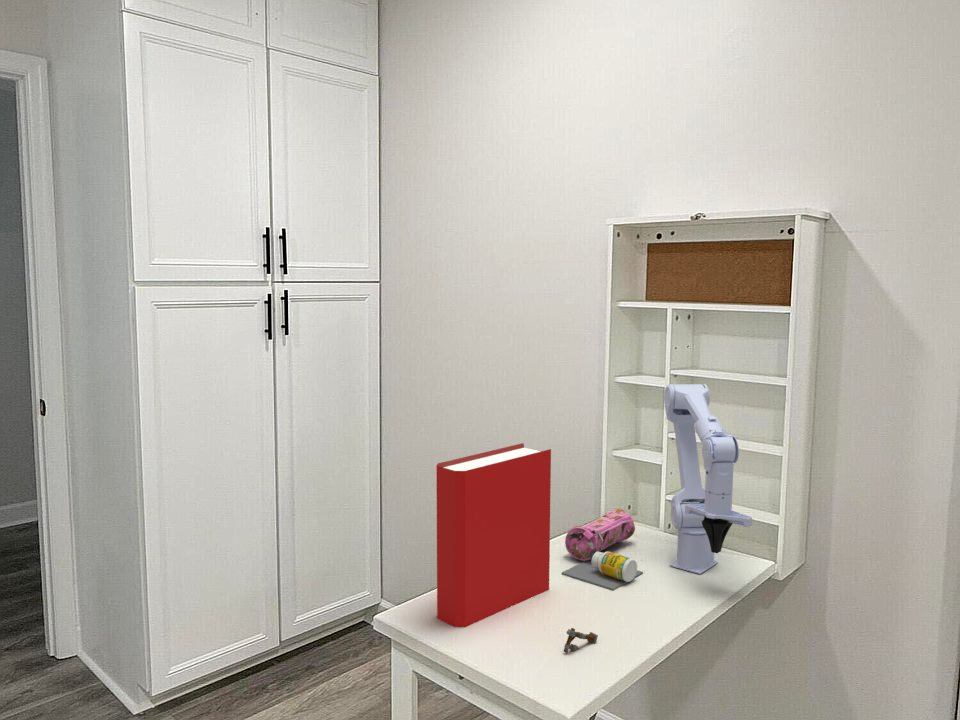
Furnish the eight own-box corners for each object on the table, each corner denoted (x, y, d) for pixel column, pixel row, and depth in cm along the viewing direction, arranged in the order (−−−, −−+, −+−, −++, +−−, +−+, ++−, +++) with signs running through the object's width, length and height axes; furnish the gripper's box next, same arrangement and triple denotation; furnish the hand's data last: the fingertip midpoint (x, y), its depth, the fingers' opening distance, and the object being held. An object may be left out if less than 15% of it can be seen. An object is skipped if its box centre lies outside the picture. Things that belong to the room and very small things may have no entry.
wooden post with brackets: (557, 649, 148) (565, 625, 148) (584, 654, 153) (591, 630, 153) (564, 653, 146) (572, 629, 147) (591, 657, 151) (598, 634, 152)
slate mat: (592, 558, 195) (592, 557, 195) (642, 573, 186) (642, 571, 186) (561, 574, 185) (561, 572, 185) (613, 590, 176) (613, 588, 176)
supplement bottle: (639, 571, 182) (605, 560, 189) (634, 554, 180) (599, 543, 187) (627, 587, 179) (592, 575, 186) (622, 570, 177) (587, 558, 183)
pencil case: (595, 566, 189) (596, 530, 188) (562, 557, 194) (563, 522, 194) (637, 543, 206) (638, 510, 205) (605, 536, 211) (606, 503, 210)
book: (522, 579, 182) (523, 443, 178) (549, 589, 177) (550, 448, 173) (433, 616, 163) (432, 464, 159) (460, 629, 158) (460, 472, 154)
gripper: (679, 488, 174) (677, 548, 176) (743, 502, 165) (740, 565, 166) (694, 482, 179) (692, 540, 181) (756, 494, 170) (754, 555, 172)
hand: (716, 551), depth 174 cm, fingers closed
